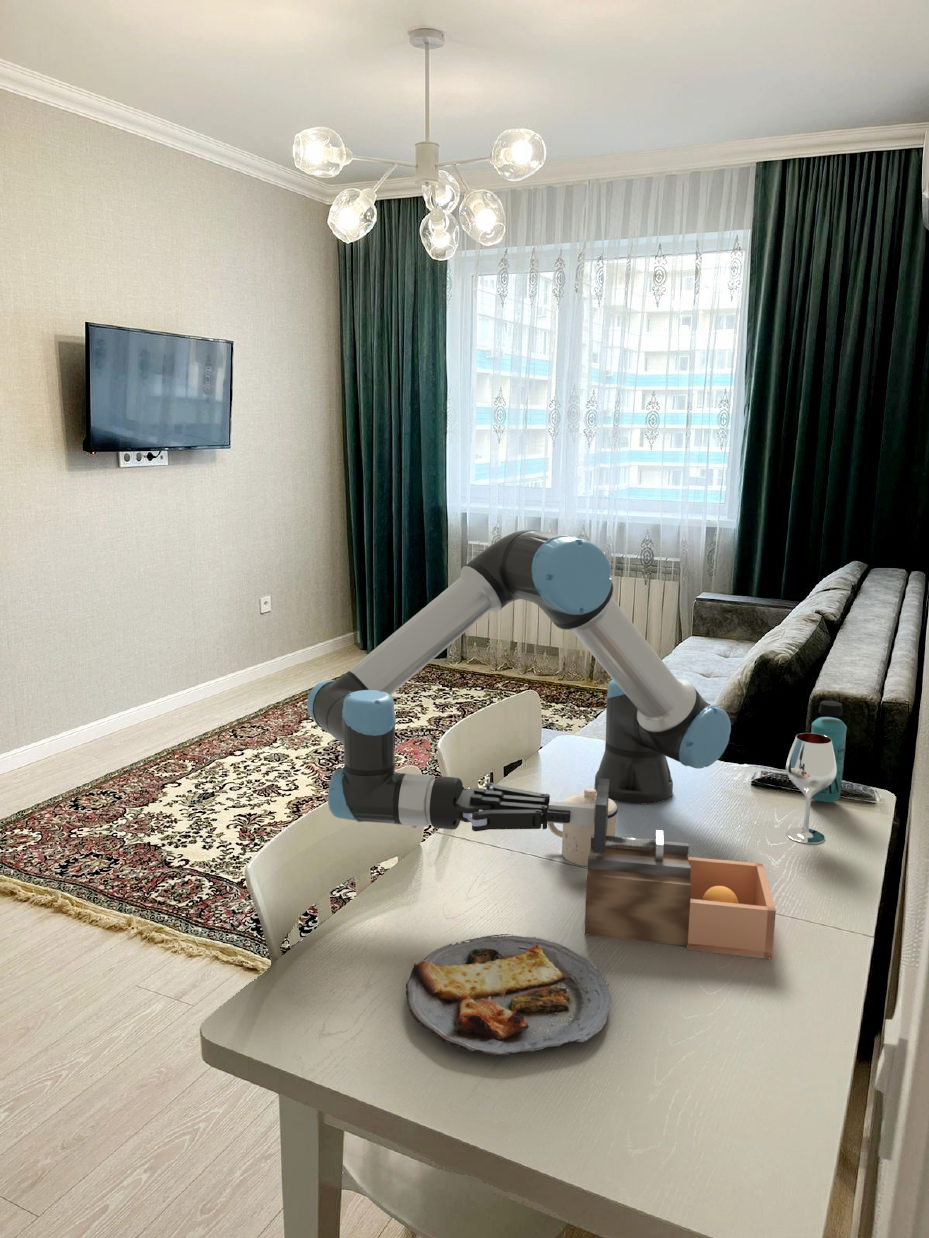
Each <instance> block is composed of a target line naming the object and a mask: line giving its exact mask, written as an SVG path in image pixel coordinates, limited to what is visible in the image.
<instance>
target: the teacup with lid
mask: <svg viewBox="0 0 929 1238" xmlns="http://www.w3.org/2000/svg"><path fill="white" fill-rule="evenodd" d="M596 796H597V791H596V790H595V788H593V787H587V788H585V789H584V791H583V792H581V793H579V794H573V795H571V796H567V798H565V799H564V800H563V802H570V803H582V804H594V805H595V803H596ZM618 810H619V809H618V806H617V804H616V801H614V800H611V799H609V800H608V824H607V834H606V835H607V836H616V826H617V825H616V821H617V820H616V819H617V813H618ZM594 826H595V822H594ZM594 826H582V825H571V824H562V830H560V829H558V828H557V827H556V826H555V823H548V822H547V827H548V828H549V830H550V832H551V833H553V834H554V835H555V836H556V837H560V838H562V839H561V840H562V841H561V842H562V843H561V854H562V856H563V857H564V859H565V860H566V861H567V862H570V863H572V864H574V865H577V866H582V867H588V855H590V848H591V835H594Z"/></svg>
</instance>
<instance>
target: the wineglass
mask: <svg viewBox="0 0 929 1238" xmlns="http://www.w3.org/2000/svg"><path fill="white" fill-rule="evenodd" d="M785 771H786V775H787V776H788V778H789V780H790V781H791V783H792V784H793V785H794V786H796V788H798V789H799V790H800V792H801V793H802V794H803V795H804V798H805V806H804V807H805V808H804V820H803V827H792V828H791V827H790V828H788V829H787V830H786V832H785V835H786V836H787V838H788V839H790V840H792V841H794V842H798V843H800V844H804V845H817V844H822V843H823V842H825V840H826V838H825V837H826V836H825V835H824V834H823V833H821V832H820V831H817V830H816V829H812V828H809V827H810V826H809V825H810V814H811V813H810V812H811V803H812V797H813V796H814V795H815V794H816V793H818V792H820V791H822V790H823V789H825V788H827V787H828V786H829V785H830V784H831V783H832V782H833V781H834V779H835V777H836V773H837V768H836V760H835V755H834V750H833V745H832V740H831V739H830V738H829V737H827V736H824V735H820V734H814V733H811V732H802V733H798V734H796V735H795V739H794V741H793V743H792V746H791V748H790V750H789V753H788V757H787V760H786V765H785Z"/></svg>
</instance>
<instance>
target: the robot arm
mask: <svg viewBox="0 0 929 1238" xmlns="http://www.w3.org/2000/svg"><path fill="white" fill-rule="evenodd" d="M611 574H612V568H611V564H610V561H609V559H608V557H607V556H606V554H605V552H603V550H602V549H601V548H600V547H599V546H598V545H596V544H594V543H593V542H591V541H589V540H586V539H584V538H581V537H579V536H575V535H570V534H569V535H568V534H557V533H552V532H544V531H540V530H535V529H525V530H518V531H515V532H512V533H510V534H508V535H505V536H503V537H502V538H500V539H499V540H497V541H496V542H494V543H493V544H491V545H490V546H488V547H487V548H485V549H484V550H482V551H481V552H480V553H479V554H477V555H476V556H474V558H473V559H471V560H470V561H469V562H468V563H467V564H465V565H464V566H463V567H462V568H461V569H460V577H459V578H458V579H456V581H454V582H453V583H452V584H451V585H450V586H448V587H447V588H446V589H445V590H443V591H442V592H441V593H440V594H439V595H438V596H437V597H435V598H434V599H433V600H431V601H430V602H429V603H428V604H427V605H426V606H425V607H423V608H421V609H420V611H418V612H417V613H416V614H415V615H413V616H412V617H411V618H410V619H408V620H407V621H406V622H405V623H404V624H403V625H402V626H400V627H399V628H398V629H397V630H395V632H393V633H392V634H391V635H390V636H388V637H387V638H386V639H385V640H384V641H382V642H381V643H380V644H379V645H377V646H376V647H375V648H374V649H372V651H370V652H369V653H368V654H367V655H365V656H364V657H363V658H362V659H361V660H359V662H358V663H356V664H355V665H354V666H353V667H350V669H349V670H348V671H346V673H344V674H343V675H342V676H341V677H339V678H338V679H337V680H332V679H331V680H325V681H321V682H318V683H317V684H316V685H315V686H314V687H312V689H311V690H310V692H309V694H308V696H307V698H306V699H307V700H306V708H307V712H308V715H309V716H310V718H311V719H312V720H313V721H314V722H315V725H316V726H318V728H321V729H322V730H323V731H325V732H326V733H328V734H330V735H331V736H332V737H333V738H335V739H336V740H337V741H338V742H339V743H341V745H343V755H344V761H343V762H344V763H343V768H342V767H341V768H337V769H336V770H335V771H334V772H333V773H332V775H331V777H330V781H329V782H328V783H329V784H328V792H327V804H328V809H329V811H330V813H331V815H332V816H333V817H335V818H338V819H344V820H347V821H348V820H349V821H356V822H357V823H364V822H366V823H377V824H378V823H379V824H380V823H381V824H392V825H393V824H395V825H401V826H403V825H404V826H411V828H413V829H417V828H418V827H424V828H427V827H429V826H430V825H431V827H433V828H434V829H442V830H452V831H454V830H456V829H458V828H459V826H460V823H461V822H464V823H471V830H472V832H482V831H488V830H540V829H542V830H547V829H548V824H547V822H548V823H554V824H562V825H563V824H571V825H582V826H594V822H595V805H594V804H582V803H570V802H564V801H555V800H551V795H550V793H541V792H537V791H532V790H526V789H520V788H516V787H515V788H514V787H509V786H503V785H499V784H496V783H493V782H487V783H485V785H486V788H481V787H475V788H465V787H464V786H463V781H462V779H460V777H453V776H452V777H451V776H442V775H439V776H437V777H436V778H435V777H434V776H433V775H432V774H418V773H404V772H402V773H400V772H396V769H395V767H396V761H395V755H396V751H395V750H396V747H395V746H396V744H395V743H396V742H395V741H396V738H395V737H396V722H397V719H396V713H395V702H394V699H393V697H392V695H393V694H394V693H395V692H397V691H398V689H400V688H401V687H402V686H404V685H405V684H406V683H407V682H408V681H409V680H411V679H412V678H413V677H414V676H416V675H417V673H419V672H420V671H421V670H422V669H423V668H424V667H426V666H427V665H428V664H429V663H430V662H432V661H433V660H434V659H435V658H436V657H438V656H439V655H440V654H441V653H442V652H443V651H444V650H445V649H447V648H449V646H450V645H452V644H453V643H454V642H455V641H456V640H457V639H459V638H460V637H461V636H462V635H464V634H465V633H466V632H467V631H468V630H469V629H471V628H472V627H473V626H475V624H476V623H477V622H478V621H480V620H481V619H482V618H483V617H485V615H487V614H488V613H489V612H491V613H492V612H493V613H498V612H499V611H501V610H502V609H503V608H504V607H505V606H507V605H508V604H510V603H512V602H514V601H519V600H523V601H526V602H530V603H534V604H535V605H537V606H538V608H540V609H541V610H542V611H543V613H544V614H545V615H546V616H547V617H548V618H549V619H550V621H551V622H552V623H553V624H554V625H555V627H557V629H559V630H561V631H572V632H573V633H574V635H575V636H576V637H577V639H578V640H579V641H580V643H582V644H583V646H584V647H585V648H586V649H587V650H588V652H589V653H590V654H591V655H592V656H593V658H594V659H595V660H596V661H597V662H598V663H599V664H600V666H601V667H602V668H603V670H604V671H605V672H606V673H607V674H608V675H609V676H610V677H611V680H610V682H608V686H607V694H606V696H605V697H606V698H605V699H606V709H605V711H606V712H605V714H606V715H605V743H604V745H605V746H604V748H605V749H604V752H603V756H602V758H601V761H600V765H599V768H598V770H597V771H596V773H595V776H594V789H595V790H596V792H597V789H598V782H599V778H601V779H609V799H611V800H612V801H614V802H619V803H622V804H630V805H652V804H657V803H662V802H664V801H666V800H669V799H670V798H671V797H672V796H673V792H674V791H673V790H674V787H673V786H674V781H673V778H672V775H671V771H670V767H669V764H668V759H667V758H670V759H671V760H674V761H676V762H678V763H680V764H681V765H683V766H685V767H690V768H694V769H696V770H697V769H704V768H708V767H710V766H711V765H713V764H714V763H716V762H717V761H719V759H720V757H722V755H723V753H724V752H725V750H726V749H727V746H728V744H729V741H730V734H731V731H732V727H731V724H732V723H731V720H730V717H729V715H728V713H727V712H726V711H725V710H724V709H722V708H720V706H718V705H716V704H710V703H709V702H707V701H706V700H705V699H704V698H703V697H702V695H701V694H700V693H699V691H698V690H697V689H696V688H695V687H694V685H693V684H692V683H691V682H690V681H689V680H686V679H683V678H676V676H675V675H674V674H673V673H672V672H671V670H670V669H669V668H668V666H667V665H666V664H665V663H664V661H663V660H662V659H661V658H660V656H659V655H658V654H657V653H656V651H655V650H654V649H653V648H652V646H651V645H650V644H649V642H648V641H647V640H646V638H645V637H644V636H643V634H642V633H641V632H640V630H638V628H637V627H636V625H635V624H634V623H633V622H632V620H630V618H629V616H628V615H627V614H626V613H625V612H624V610H623V609H622V608H621V607H620V606H619V604H618V602H616V600H615V599H614V598H613V597H614V593H615V584H614V583H613V579H612V578H611Z"/></svg>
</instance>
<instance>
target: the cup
mask: <svg viewBox="0 0 929 1238" xmlns="http://www.w3.org/2000/svg"><path fill="white" fill-rule="evenodd" d="M688 860H689V865H691V874H690V881H691V892H690V907H689V924H688V940H687V947H686V948H687V950H688V951H695V952H704V953H712V954H713V953H715V954H723V955H732V956H740V957H747V958H748V957H750V958H758V959H766V958H768V960H772V959H773V953H774V952H773V951H774V950H773V949H774V948H773V947H774V937H775V926H776V924H775V923H776V914H777V911H776V907H775V904H774V903H775V902H774V899H773V896H772V893H771V889H770V884H769V881H768V877H767V873H766V870H765V865H764V863H759V862H749V861H737V860H727V859H715V858H706V857H704V858H703V857H694V856H688ZM714 886H724V887H727V888H729V889H730V890H732V891H733V892H734V894H735V895H736V897H737V899H738V903H739V904H736V903H726V902H716V901H707V900H702V899H703V896H704V894H705V892H706V891H707V890H708V889H710V888H711V887H714ZM769 958H770V959H769Z"/></svg>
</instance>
